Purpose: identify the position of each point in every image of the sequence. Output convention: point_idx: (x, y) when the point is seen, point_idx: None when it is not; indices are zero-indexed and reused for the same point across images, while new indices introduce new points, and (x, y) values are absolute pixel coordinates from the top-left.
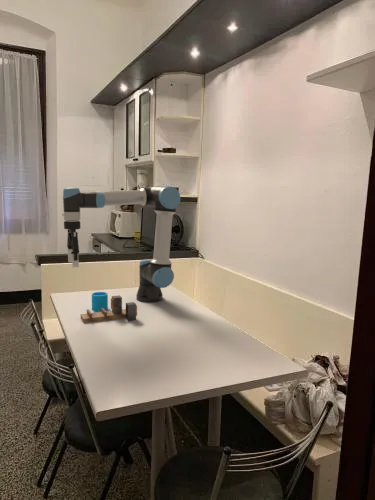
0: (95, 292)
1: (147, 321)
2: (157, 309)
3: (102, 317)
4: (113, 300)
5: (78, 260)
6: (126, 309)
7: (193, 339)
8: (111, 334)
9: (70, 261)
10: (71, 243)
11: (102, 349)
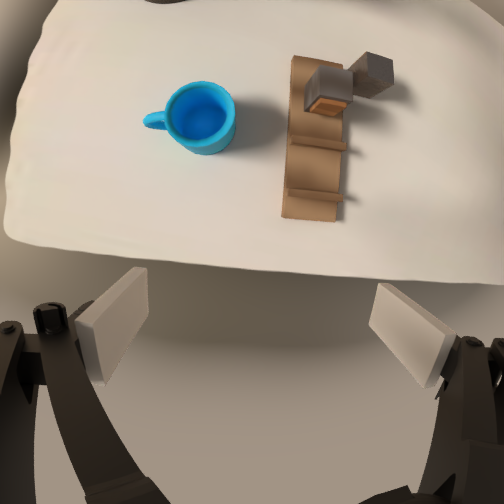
0: (166, 124)
1: None
2: None
3: (339, 159)
4: (345, 104)
5: (417, 304)
6: (367, 85)
7: (486, 70)
8: (434, 184)
9: (145, 300)
10: (432, 472)
11: (478, 234)
